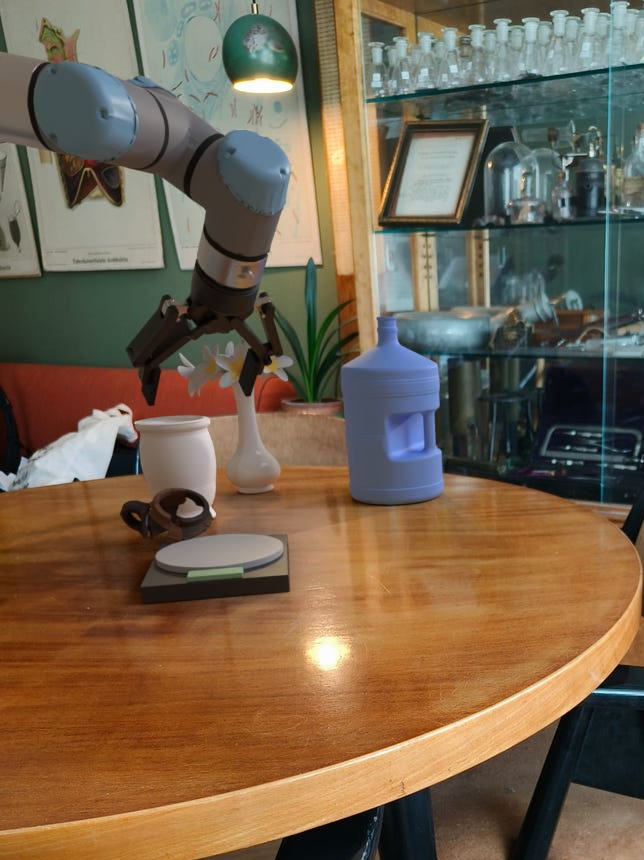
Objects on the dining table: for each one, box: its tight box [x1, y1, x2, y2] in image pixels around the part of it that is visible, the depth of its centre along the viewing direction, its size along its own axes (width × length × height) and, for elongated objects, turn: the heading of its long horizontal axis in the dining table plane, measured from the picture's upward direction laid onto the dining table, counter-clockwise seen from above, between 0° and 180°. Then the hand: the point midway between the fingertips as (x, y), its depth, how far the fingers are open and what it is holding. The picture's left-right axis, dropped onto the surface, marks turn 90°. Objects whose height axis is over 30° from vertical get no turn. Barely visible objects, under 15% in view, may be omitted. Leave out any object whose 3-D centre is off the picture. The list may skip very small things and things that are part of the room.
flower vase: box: [177, 340, 294, 495], centre depth 149 cm, size 13×18×25 cm
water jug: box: [340, 315, 445, 506], centre depth 142 cm, size 16×16×28 cm
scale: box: [139, 533, 291, 605], centre depth 107 cm, size 16×19×3 cm
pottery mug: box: [119, 488, 214, 543], centre depth 121 cm, size 12×10×8 cm
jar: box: [134, 414, 217, 519], centre depth 132 cm, size 11×10×15 cm
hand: (197, 393), depth 120 cm, fingers open, 13 cm apart
